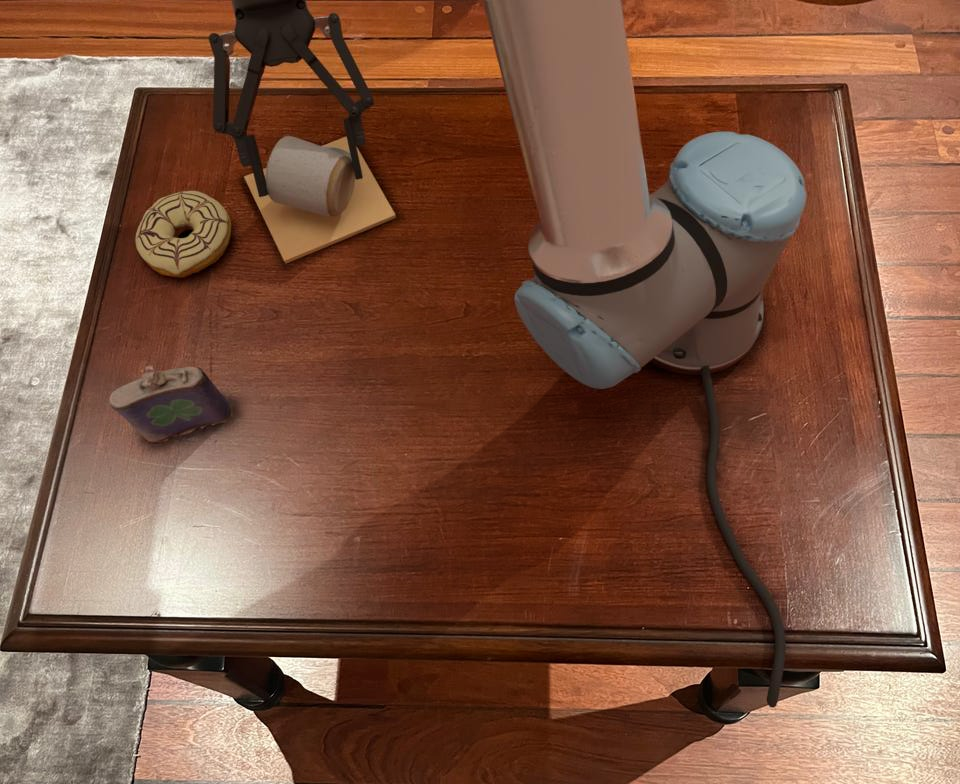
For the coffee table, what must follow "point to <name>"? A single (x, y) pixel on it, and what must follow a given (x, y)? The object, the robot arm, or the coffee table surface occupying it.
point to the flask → (170, 403)
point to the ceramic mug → (310, 176)
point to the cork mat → (314, 231)
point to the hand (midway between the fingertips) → (312, 186)
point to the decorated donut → (173, 219)
